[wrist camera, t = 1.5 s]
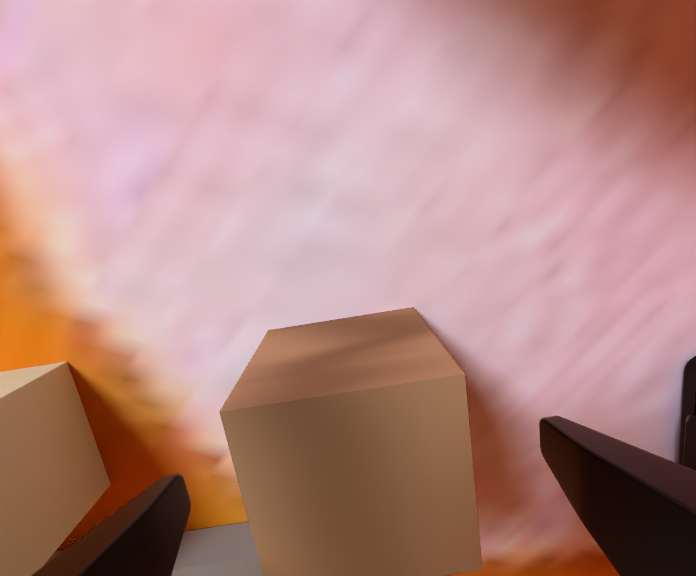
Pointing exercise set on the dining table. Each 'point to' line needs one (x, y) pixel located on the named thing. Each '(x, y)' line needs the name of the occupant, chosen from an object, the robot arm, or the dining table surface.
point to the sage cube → (43, 465)
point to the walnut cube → (356, 450)
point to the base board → (215, 552)
